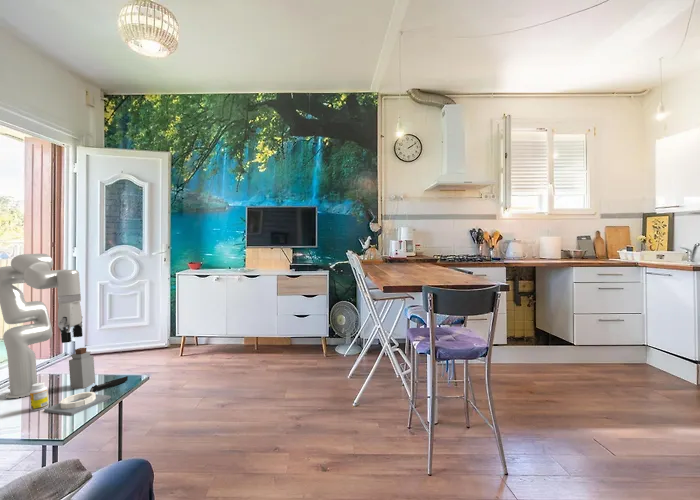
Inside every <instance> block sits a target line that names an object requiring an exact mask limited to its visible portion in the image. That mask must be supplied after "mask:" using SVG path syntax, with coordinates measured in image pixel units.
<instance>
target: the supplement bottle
mask: <svg viewBox="0 0 700 500" xmlns="http://www.w3.org/2000/svg"><path fill="white" fill-rule="evenodd" d="M29 398H30V408H31V411H33V412H37V411H42V410H44V409H46V408H49V407H50V406H49V405H50V403H49V402H50V401H49V389H48V386H46V384H45V381H44V382H43V381H42V382H37V383H36V384H33V385H32V390H31V391H30V395H29Z"/></svg>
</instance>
